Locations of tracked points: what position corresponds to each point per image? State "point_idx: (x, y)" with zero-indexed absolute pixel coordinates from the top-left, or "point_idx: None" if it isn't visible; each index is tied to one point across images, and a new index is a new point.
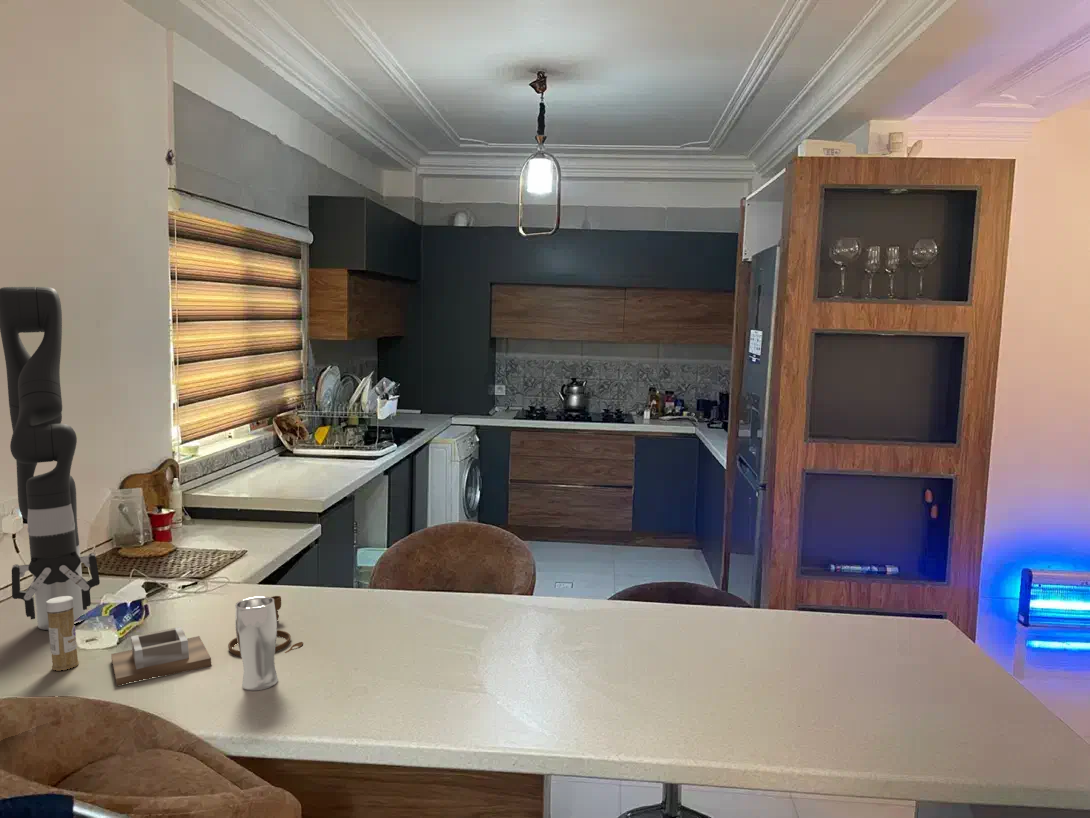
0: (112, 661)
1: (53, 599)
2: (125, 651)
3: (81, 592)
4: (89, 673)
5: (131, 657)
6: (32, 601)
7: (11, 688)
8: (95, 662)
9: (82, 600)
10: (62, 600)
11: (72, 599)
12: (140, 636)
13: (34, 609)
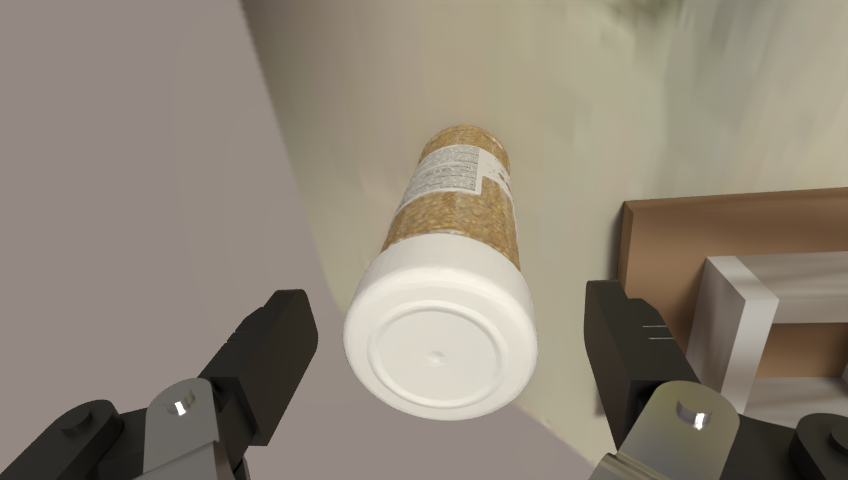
0: (624, 266)
1: (390, 337)
2: (690, 215)
3: (619, 371)
4: (541, 271)
5: (692, 290)
6: (265, 435)
7: (327, 268)
8: (567, 176)
9: (601, 396)
10: (463, 405)
11: (532, 372)
12: (781, 322)
13: (288, 334)
